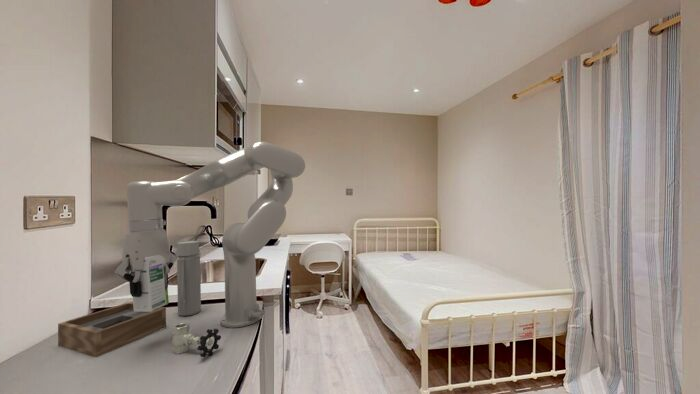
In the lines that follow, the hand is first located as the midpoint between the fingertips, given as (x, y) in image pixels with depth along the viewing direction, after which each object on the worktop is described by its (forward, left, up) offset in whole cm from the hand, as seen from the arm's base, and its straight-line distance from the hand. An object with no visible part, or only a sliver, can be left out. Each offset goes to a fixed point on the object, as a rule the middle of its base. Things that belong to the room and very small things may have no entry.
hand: (150, 291), depth 76 cm
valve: (-15, -1, -15) cm, 21 cm away
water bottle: (+10, -19, -15) cm, 26 cm away
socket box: (+16, 0, -15) cm, 22 cm away
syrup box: (0, 0, -5) cm, 5 cm away
